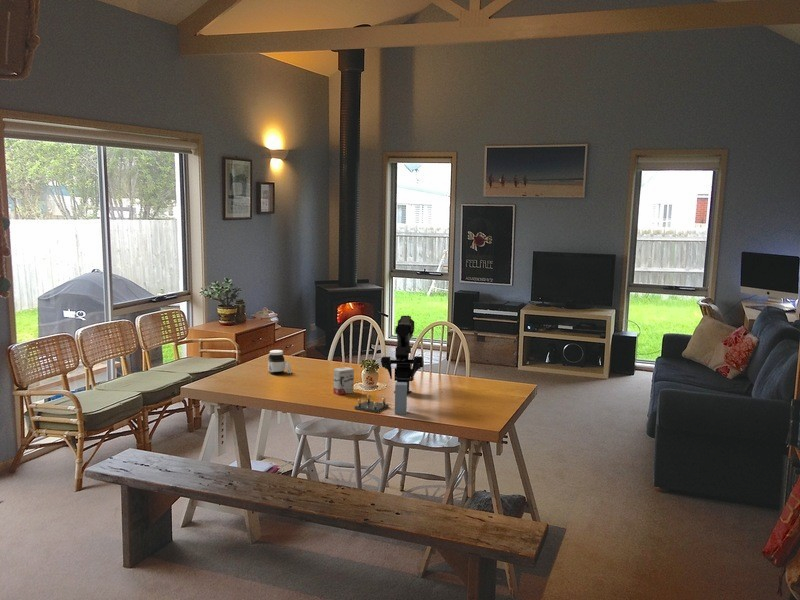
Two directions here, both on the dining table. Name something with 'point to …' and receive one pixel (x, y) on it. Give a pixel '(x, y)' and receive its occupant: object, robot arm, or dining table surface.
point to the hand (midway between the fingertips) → (401, 378)
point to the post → (400, 398)
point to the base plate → (371, 405)
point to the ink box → (343, 380)
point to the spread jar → (277, 362)
